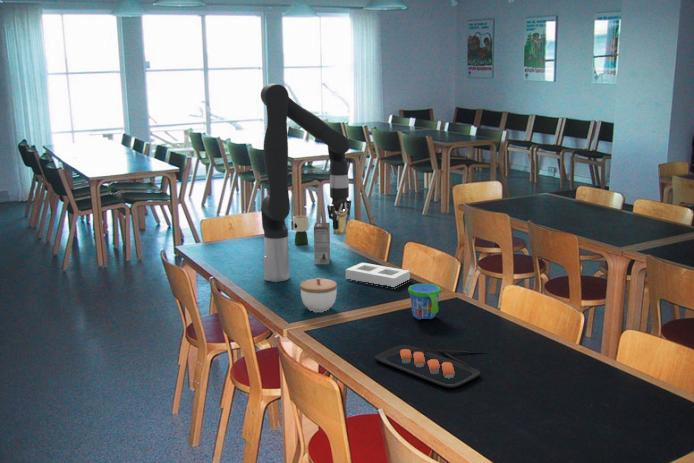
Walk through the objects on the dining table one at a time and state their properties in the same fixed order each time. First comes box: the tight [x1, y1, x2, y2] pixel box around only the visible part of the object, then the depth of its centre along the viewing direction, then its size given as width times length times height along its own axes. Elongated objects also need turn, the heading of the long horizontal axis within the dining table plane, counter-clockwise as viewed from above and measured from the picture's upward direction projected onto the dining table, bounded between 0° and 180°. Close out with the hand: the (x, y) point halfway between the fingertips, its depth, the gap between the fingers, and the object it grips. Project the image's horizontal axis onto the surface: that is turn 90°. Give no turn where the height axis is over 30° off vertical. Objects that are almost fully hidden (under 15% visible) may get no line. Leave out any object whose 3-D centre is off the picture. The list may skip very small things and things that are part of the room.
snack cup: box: [407, 283, 442, 320], centre depth 241 cm, size 16×10×10 cm
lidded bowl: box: [299, 277, 338, 313], centre depth 249 cm, size 13×13×11 cm
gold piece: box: [332, 210, 348, 236], centre depth 290 cm, size 6×6×9 cm
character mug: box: [292, 215, 310, 245], centre depth 338 cm, size 11×7×13 cm, turn 14°
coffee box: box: [313, 222, 331, 265], centre depth 308 cm, size 9×6×16 cm
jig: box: [345, 262, 411, 287], centre depth 283 cm, size 12×22×4 cm, turn 56°
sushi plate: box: [374, 344, 481, 388], centre depth 207 cm, size 29×30×4 cm
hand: (339, 227), depth 290 cm, fingers closed on gold piece, 5 cm apart
